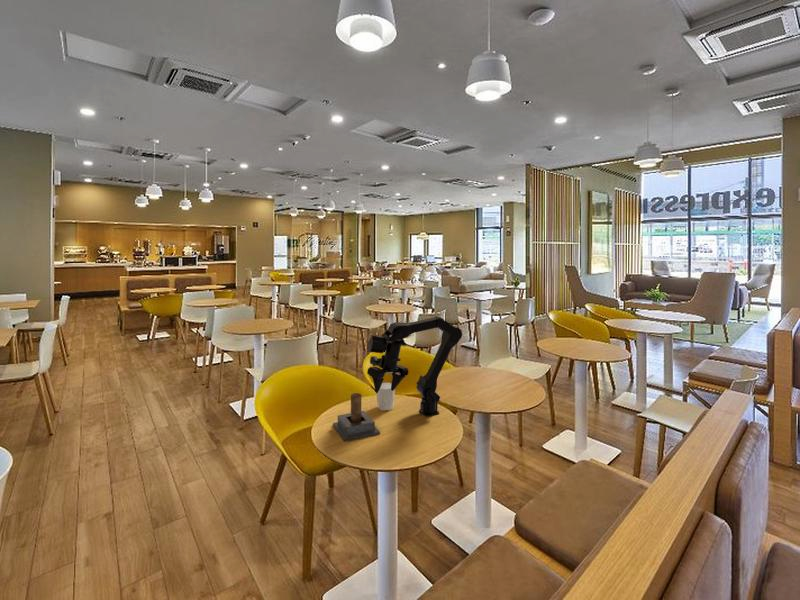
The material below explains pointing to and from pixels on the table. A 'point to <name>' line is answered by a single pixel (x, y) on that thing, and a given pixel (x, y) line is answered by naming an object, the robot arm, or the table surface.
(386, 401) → the white cup
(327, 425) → the table surface
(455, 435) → the table surface
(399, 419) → the table surface
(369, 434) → the socket
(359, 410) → the peg
